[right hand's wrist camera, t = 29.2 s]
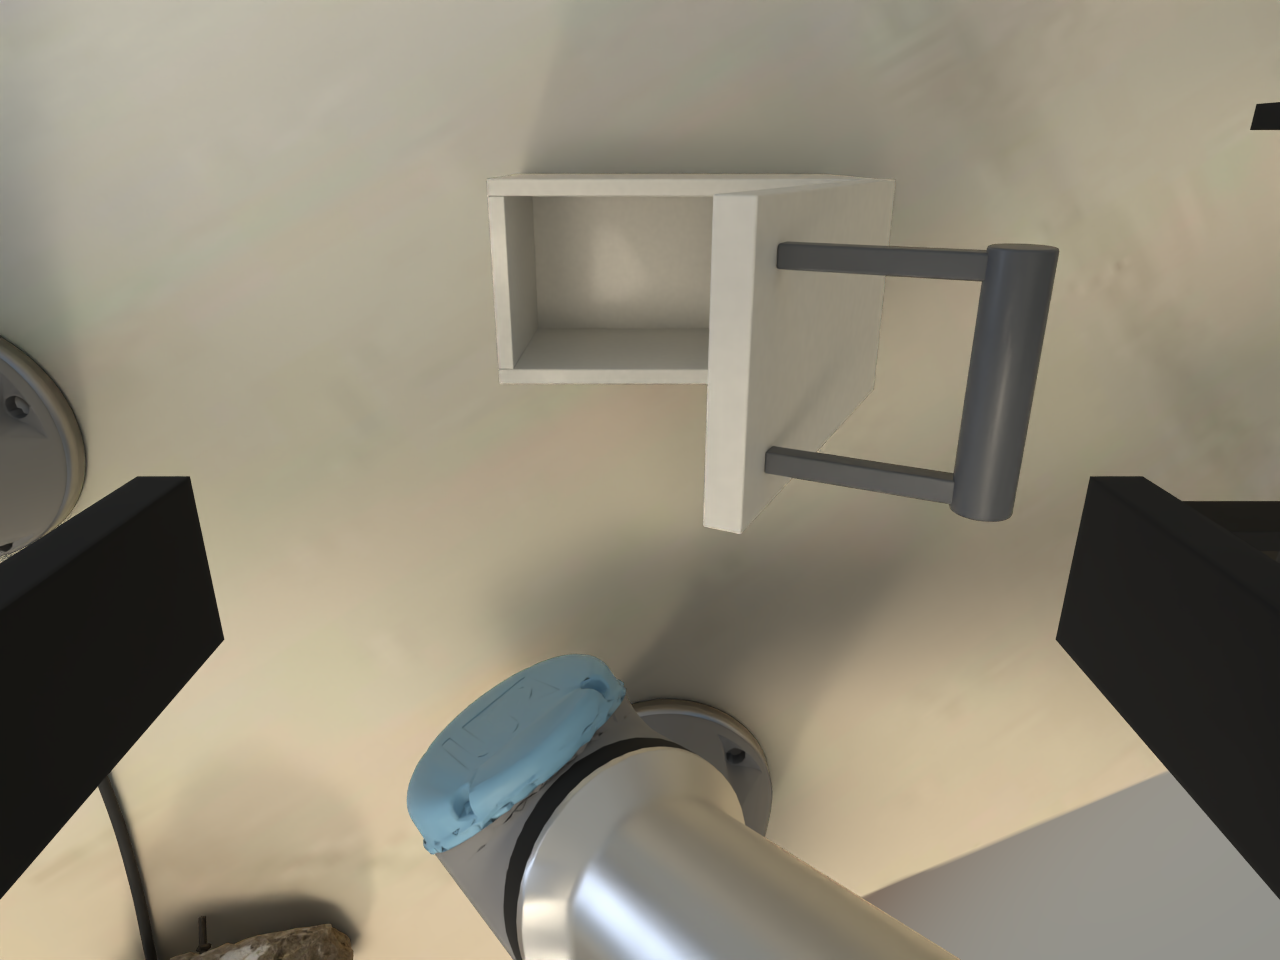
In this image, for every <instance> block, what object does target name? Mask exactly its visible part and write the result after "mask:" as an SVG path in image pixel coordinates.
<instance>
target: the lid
mask: <svg viewBox="0 0 1280 960" xmlns="http://www.w3.org/2000/svg"><path fill="white" fill-rule="evenodd" d="M895 185H896V180H895V179H862V180H852V181H842V182H832V183H822V184H812V185H802V186H792V187H782V188H771V189H761V190H751V191H741V192H731V193H721V194H715V195H714V196H713V223H712V255H711V287H710V319H709V351H708V384H707V416H706V448H705V480H704V513H703V526H704V527H707V528H712V529H717V530H722V531H727V532H732V533H737V534H742V532H743V531H744V530H745V529H746V528H747V527H748V526H749V525H750V524H751V523H752V522H753V520H754V519H755V518H756V517H757V516H758V515H759V514H760V513H761V512H762V511H763V510H764V508H765V507H766V506H767V505H768V504H769V503H770V502H771V501H772V500H773V499H774V498H775V496H776V495H777V494H778V493H779V492H780V491H781V490H782V489H783V488H784V487H785V486H786V484H787V483H788V482H789V481H790V480H791V479H792V478H797V479H803V480H809V481H815V482H821V483H827V484H833V485H839V486H845V487H850V488H856V489H862V490H868V491H874V492H880V493H886V494H892V495H898V496H904V497H910V498H916V499H922V500H928V501H934V502H940V503H946V504H949V506H950V509H951V510H952V511H953V512H954V513H956V514H958V515H960V516H962V517H965V518H969V519H972V520H978V521H986V522H997V521H1003V520H1006V519H1008V518H1010V517H1011V515H1012V513H1013V507H1014V502H1015V496H1016V490H1017V485H1018V479H1019V474H1020V468H1021V463H1022V457H1023V451H1024V446H1025V440H1026V435H1027V429H1028V423H1029V418H1030V412H1031V407H1032V401H1033V395H1034V390H1035V384H1036V379H1037V373H1038V367H1039V362H1040V356H1041V351H1042V345H1043V339H1044V334H1045V328H1046V323H1047V317H1048V311H1049V306H1050V300H1051V295H1052V289H1053V283H1054V278H1055V272H1056V267H1057V261H1058V256H1059V249H1058V248H1056V247H1053V246H1046V245H1035V244H993V245H989V246H988V247H987V250H968V249H946V248H924V247H901V246H889V241H890V232H891V222H892V213H893V203H894V194H895ZM886 276H899V277H916V278H933V279H949V280H966V281H982V285H981V292H980V299H979V305H978V312H977V319H976V326H975V333H974V339H973V346H972V353H971V360H970V366H969V373H968V380H967V387H966V393H965V400H964V407H963V414H962V420H961V427H960V434H959V441H958V448H957V454H956V461H955V468H954V473H947V472H941V471H934V470H928V469H921V468H914V467H908V466H901V465H895V464H888V463H882V462H875V461H869V460H862V459H855V458H849V457H842V456H836V455H829V454H823V453H816V452H817V451H818V450H819V448H820V447H821V446H822V445H823V444H824V443H825V442H826V441H827V440H828V439H829V438H830V436H831V435H832V434H833V433H834V432H835V431H836V430H837V429H838V428H839V427H840V426H841V424H842V423H843V422H844V421H845V420H846V419H847V418H848V417H849V416H850V415H851V414H852V412H853V411H854V410H855V409H856V408H857V407H858V406H859V405H860V404H861V403H862V402H863V400H864V399H865V398H866V397H867V396H868V395H869V394H870V393H871V392H872V391H873V389H874V382H875V373H876V363H877V354H878V345H879V335H880V326H881V316H882V307H883V298H884V288H885V279H886Z"/></svg>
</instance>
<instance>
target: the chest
mask: <svg viewBox="0 0 1280 960" xmlns="http://www.w3.org/2000/svg"><path fill="white" fill-rule="evenodd" d="M862 179H875V178H864V177H854V176H843V175H832V174H515V175H508V176H501V177H494V178H488V179H487V180H486V181H487V195H488V197H487V199H488V215H489V231H490V247H491V263H492V279H493V295H494V310H495V326H496V342H497V358H498V369H499V370H498V373H499V383H500V384H708V351H709V319H710V287H711V255H712V223H713V196H714V195H715V194H721V193H731V192H741V191H751V190H761V189H771V188H782V187H792V186H802V185H812V184H822V183H832V182H842V181H852V180H862Z"/></svg>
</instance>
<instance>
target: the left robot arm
mask: <svg viewBox="0 0 1280 960" xmlns="http://www.w3.org/2000/svg"><path fill="white" fill-rule="evenodd" d="M1250 130H1280V102H1276V103H1264V104H1256V109H1255V113H1254V117H1253V121H1252V125H1251V129H1250ZM1182 502H1184V503H1185V504H1187V505H1188V506H1190V507H1192V508H1193V509H1195V510H1196V511H1198V512H1199V513H1201V514H1203V515H1204V516H1206V517H1207V518H1209V519H1210V520H1212V521H1214V522H1215V523H1217V524H1218V525H1220V526H1221V527H1223V528H1225V529H1226V530H1228V531H1229V532H1231V533H1232V534H1234V535H1236V536H1237V537H1239V538H1240V539H1242V540H1243V541H1245V542H1247V543H1248V544H1250V545H1251V546H1253V547H1255V548H1256V549H1258V550H1259V551H1261V552H1262V553H1264V554H1266V555H1267V556H1269V557H1270V558H1272V559H1273V560H1275V561H1277V562H1278V563H1280V501H1182ZM771 804H772V786H771V780H770V775H769V770H768V766H767V762H766V759H765V756H764V753H763V751H762V749H761V747H760V745H759V744H758V742H757V741H756V739H755V738H754V737H753V736H752V734H751V733H750V732H749V731H748V730H747V729H746V728H745V727H744V726H743V725H742V724H740V723H739V722H738V721H737V720H735V719H734V718H732V717H731V716H729V715H728V714H726V713H724V712H722V711H720V710H718V709H715V708H713V707H710V706H707V705H704V704H701V703H697V702H692V701H686V700H678V699H658V700H650V701H644V702H639V703H635V704H632V705H631V703H630V701H629V700H628V698H627V696H626V688H624V683H623V682H622V681H620V680H618V679H616V678H615V676H614V675H613V674H612V672H611V670H610V669H609V667H608V666H607V665H606V664H605V663H604V662H603V661H601V660H600V659H598V658H596V657H594V656H590V655H584V654H569V655H563V656H558V657H554V658H551V659H548V660H545V661H542V662H540V663H537V664H535V665H533V666H531V667H529V668H527V669H524V670H522V671H520V672H518V673H516V674H514V675H513V676H511V677H509V678H508V679H506V680H504V681H503V682H501V683H500V684H498V685H497V686H495V687H494V688H492V689H491V690H489V691H488V692H486V693H485V694H484V695H482V696H481V697H479V698H478V699H477V700H476V701H474V702H473V703H472V704H471V705H469V706H468V707H467V708H466V709H465V710H464V711H462V712H461V713H460V714H459V715H458V716H457V717H456V718H455V719H454V720H453V721H452V722H451V723H450V724H449V725H448V726H447V727H446V728H445V729H444V730H443V731H442V732H441V733H440V734H439V735H438V736H437V738H436V739H435V740H434V741H433V742H432V744H431V745H430V746H429V748H428V750H427V752H426V753H425V754H424V755H423V757H422V758H421V759H420V761H419V762H418V764H417V766H416V768H415V771H414V773H413V775H412V777H411V780H410V783H409V787H408V792H407V808H408V812H409V815H410V817H411V819H412V821H413V822H414V824H415V825H416V827H417V828H418V830H419V831H420V833H421V835H422V836H423V838H424V840H423V844H424V847H425V849H426V850H427V851H428V852H430V854H435V855H436V856H437V857H438V859H439V860H440V862H441V863H442V864H443V866H444V867H445V868H446V870H447V871H448V872H449V874H450V875H451V876H452V878H453V879H454V880H455V882H456V883H457V884H458V886H459V887H460V888H461V890H462V891H463V892H464V894H465V895H466V897H467V898H468V899H469V901H470V902H471V903H472V905H473V906H474V907H475V909H476V910H477V911H478V913H479V914H480V915H481V917H482V918H483V919H484V921H485V922H486V923H487V925H488V926H489V928H490V929H491V930H492V932H493V933H494V934H495V936H496V937H497V938H498V940H499V941H500V942H501V944H502V945H503V946H504V948H505V949H506V950H507V952H508V953H509V954H510V956H511V957H512V959H513V960H961V959H959V958H957V957H956V956H954V955H953V954H951V953H949V952H948V951H946V950H945V949H943V948H941V947H940V946H938V945H936V944H935V943H933V942H932V941H930V940H928V939H927V938H925V937H924V936H922V935H920V934H919V933H917V932H916V931H914V930H912V929H911V928H909V927H908V926H906V925H904V924H903V923H901V922H900V921H898V920H896V919H895V918H893V917H892V916H890V915H888V914H887V913H885V912H884V911H882V910H880V909H879V908H877V907H876V906H874V905H872V904H871V903H869V902H868V901H866V900H864V899H863V898H861V897H860V896H858V895H856V894H855V893H853V892H852V891H850V890H848V889H847V888H845V887H844V886H842V885H840V884H839V883H837V882H835V881H834V880H832V879H831V878H829V877H827V876H826V875H824V874H823V873H821V872H819V871H818V870H816V869H815V868H813V867H811V866H810V865H808V864H807V863H805V862H803V861H802V860H800V859H799V858H797V857H795V856H794V855H792V854H791V853H789V852H787V851H786V850H784V849H783V848H781V847H779V846H778V845H776V844H775V843H773V842H771V841H770V840H768V839H767V838H765V834H766V830H767V826H768V821H769V817H770V812H771Z"/></svg>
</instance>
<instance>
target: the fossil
mask: <svg viewBox="0 0 1280 960" xmlns="http://www.w3.org/2000/svg"><path fill="white" fill-rule="evenodd" d="M211 945H212V944H209V943H207V933H206V917H205V916H201V917H199V947H198V948H197V950H196V951H198V952H200V954H195V953H192V952H188V953H184V954H181V955H178V956H174V957H173V958H171V959H170V960H353V950H352V949H351V943H350V938H349V937H348V936H347V935H346V934H344V933H342V932H340V931H338V930H337V929H336V928H333V927H332V925H331V924H322V925H316V926H311V927H303V928H294V929H290V930H285V931H279V932H272V933H267V934H263V935H257V936H254V937H250V938H246V939H244V940H241V941H239V942H237V943H235V944H231V943H226V944H224V945H221V946H219V947H217V948H214V949H212V950H209V949H210V948H211ZM208 950H209V951H208Z"/></svg>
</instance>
